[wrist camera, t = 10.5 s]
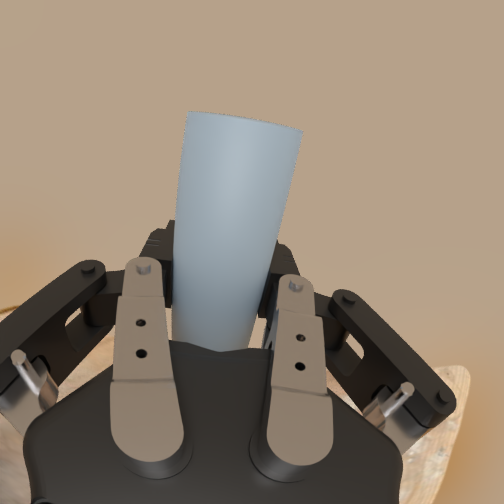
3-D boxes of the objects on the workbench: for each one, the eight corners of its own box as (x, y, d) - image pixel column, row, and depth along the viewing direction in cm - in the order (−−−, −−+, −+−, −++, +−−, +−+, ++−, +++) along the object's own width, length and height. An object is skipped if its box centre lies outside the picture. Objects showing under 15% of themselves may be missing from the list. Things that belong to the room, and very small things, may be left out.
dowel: (172, 422, 14) (177, 113, 6) (177, 377, 17) (195, 110, 9) (231, 427, 14) (318, 136, 6) (229, 382, 17) (289, 126, 10)
